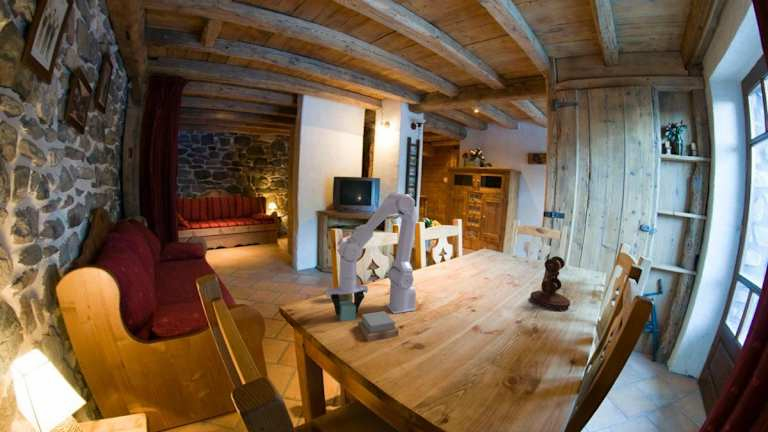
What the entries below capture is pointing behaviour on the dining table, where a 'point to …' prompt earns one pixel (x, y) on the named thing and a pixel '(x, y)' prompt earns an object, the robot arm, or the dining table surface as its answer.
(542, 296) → the dark brown carved statue
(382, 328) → the grey block
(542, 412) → the dining table surface
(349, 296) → the olive upright rounded piece
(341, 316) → the teal cube
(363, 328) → the walnut block
